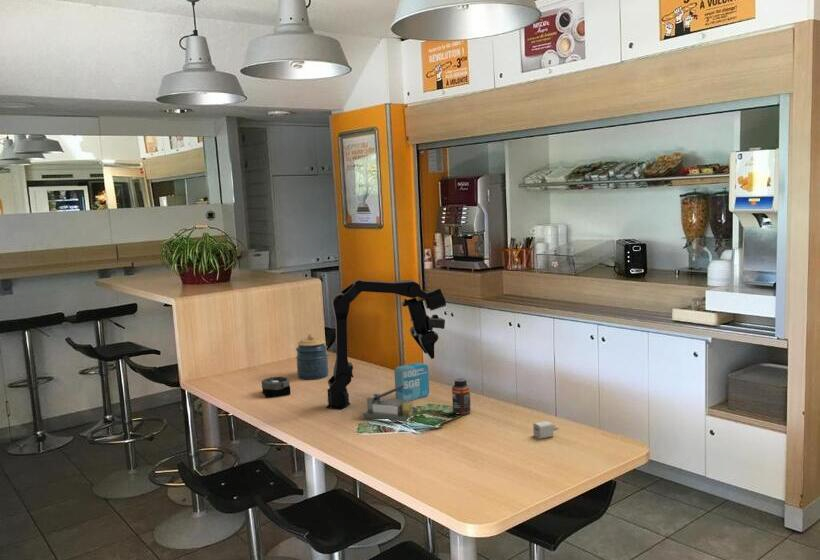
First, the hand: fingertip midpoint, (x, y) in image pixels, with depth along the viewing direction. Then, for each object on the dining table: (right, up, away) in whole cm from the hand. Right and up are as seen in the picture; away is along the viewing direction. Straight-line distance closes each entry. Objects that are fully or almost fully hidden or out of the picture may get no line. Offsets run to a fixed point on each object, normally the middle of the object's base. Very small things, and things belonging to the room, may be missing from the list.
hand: (429, 355), depth 254 cm
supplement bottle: (+10, -17, -18) cm, 27 cm away
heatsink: (-14, -18, -19) cm, 29 cm away
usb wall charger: (+34, -19, -43) cm, 58 cm away
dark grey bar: (-14, -11, -19) cm, 27 cm away
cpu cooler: (-58, -16, +15) cm, 62 cm away
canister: (-47, -13, +39) cm, 63 cm away
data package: (-6, -16, +2) cm, 17 cm away
